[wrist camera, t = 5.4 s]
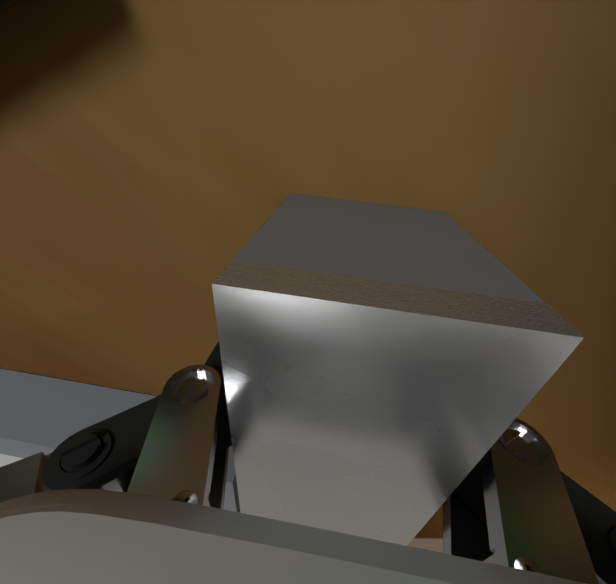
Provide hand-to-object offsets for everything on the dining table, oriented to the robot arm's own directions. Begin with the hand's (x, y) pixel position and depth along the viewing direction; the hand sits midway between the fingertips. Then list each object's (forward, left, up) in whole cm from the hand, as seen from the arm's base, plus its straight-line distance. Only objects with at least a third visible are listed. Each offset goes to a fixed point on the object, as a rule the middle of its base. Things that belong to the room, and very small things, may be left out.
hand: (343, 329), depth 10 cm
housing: (0, 0, -1) cm, 1 cm away
